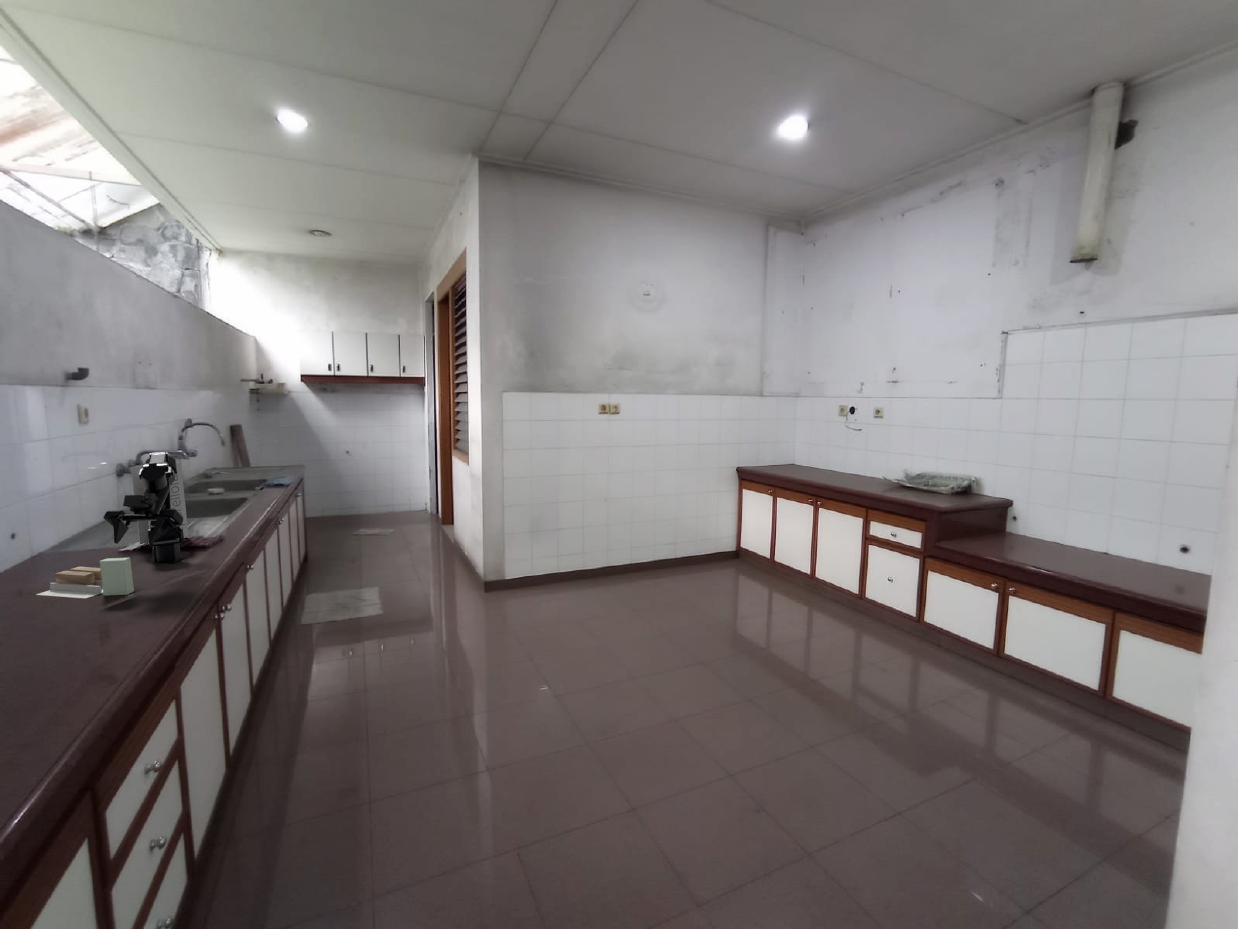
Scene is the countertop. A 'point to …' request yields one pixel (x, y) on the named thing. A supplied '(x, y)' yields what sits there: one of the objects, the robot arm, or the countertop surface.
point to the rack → (74, 590)
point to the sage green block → (116, 576)
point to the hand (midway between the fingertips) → (133, 542)
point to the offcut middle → (75, 578)
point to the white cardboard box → (176, 501)
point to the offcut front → (89, 569)
